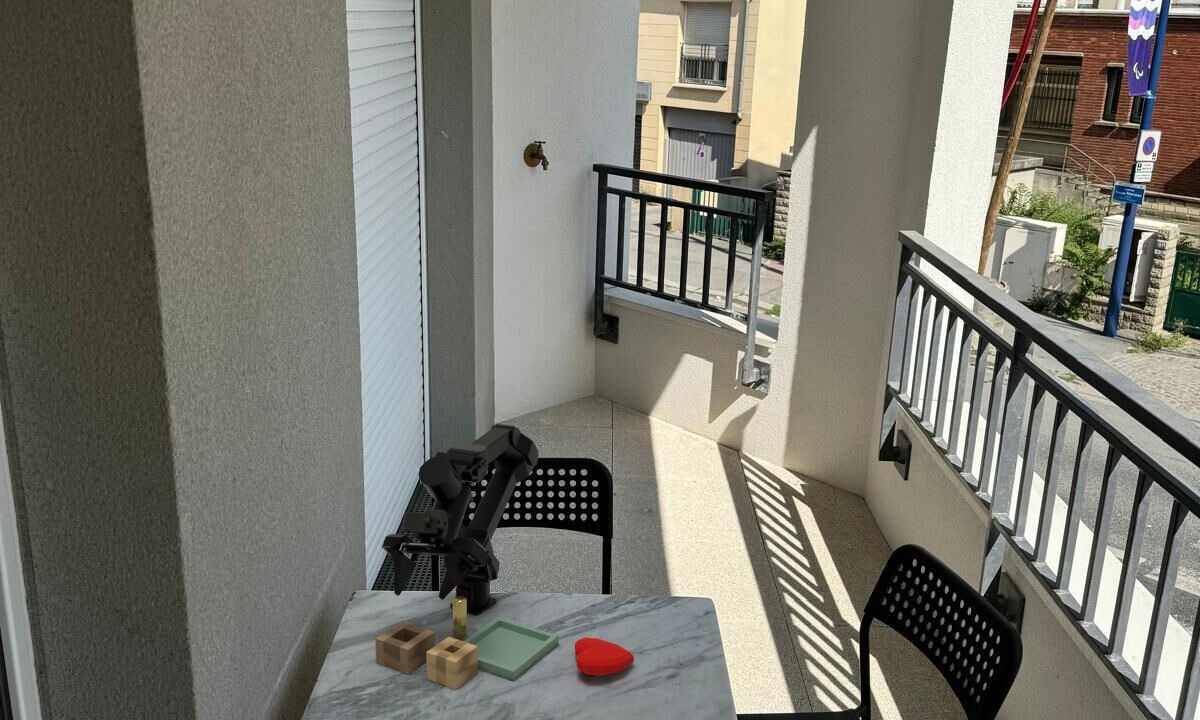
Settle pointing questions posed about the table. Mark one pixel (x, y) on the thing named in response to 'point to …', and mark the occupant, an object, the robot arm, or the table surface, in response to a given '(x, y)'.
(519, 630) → the green tray
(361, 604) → the table surface
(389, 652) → the walnut block
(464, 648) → the oak block
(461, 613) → the brass pin
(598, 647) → the heart
